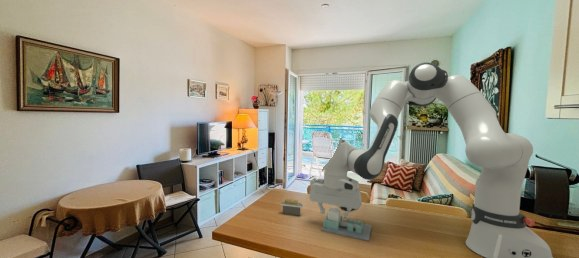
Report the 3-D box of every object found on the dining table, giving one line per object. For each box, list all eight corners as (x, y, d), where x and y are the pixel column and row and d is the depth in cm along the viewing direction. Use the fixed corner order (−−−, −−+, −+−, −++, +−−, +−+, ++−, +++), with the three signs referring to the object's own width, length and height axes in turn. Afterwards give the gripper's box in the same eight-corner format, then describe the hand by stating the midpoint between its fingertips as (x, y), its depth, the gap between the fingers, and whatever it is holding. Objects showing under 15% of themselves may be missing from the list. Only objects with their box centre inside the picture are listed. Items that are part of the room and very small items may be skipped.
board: (371, 226, 93) (371, 219, 93) (368, 241, 82) (369, 233, 82) (329, 218, 100) (329, 211, 100) (321, 230, 89) (321, 223, 89)
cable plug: (360, 227, 91) (361, 212, 90) (359, 232, 87) (360, 216, 87) (330, 221, 96) (330, 207, 95) (327, 225, 92) (328, 210, 92)
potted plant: (276, 207, 112) (277, 193, 112) (314, 211, 107) (314, 197, 107) (268, 217, 100) (268, 202, 100) (309, 223, 96) (309, 207, 95)
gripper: (307, 179, 94) (306, 213, 94) (360, 187, 85) (358, 224, 85) (312, 175, 99) (312, 207, 100) (362, 182, 90) (361, 217, 91)
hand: (334, 215), depth 93 cm, fingers open, 8 cm apart
